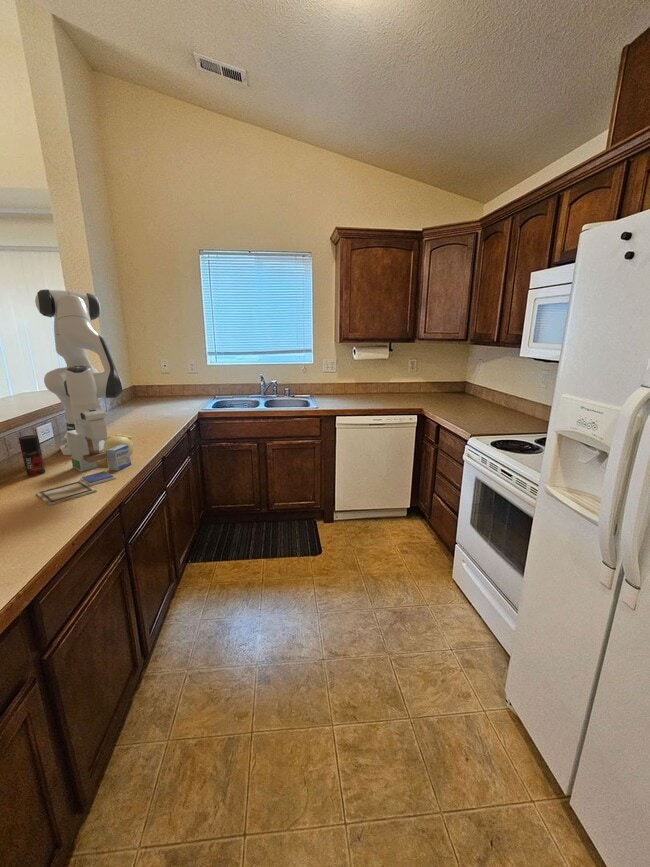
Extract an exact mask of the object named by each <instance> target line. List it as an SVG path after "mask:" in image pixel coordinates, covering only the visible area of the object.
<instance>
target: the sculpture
mask: <svg viewBox="0 0 650 867" xmlns="http://www.w3.org/2000/svg"><path fill="white" fill-rule="evenodd" d="M118 445H128V447H129V453H130V457H131V456H132V455H133V453H134V442H133V437H132V436H131V435H126V434H121V433H116V434H114V435H110V436H107V439H106V440H104V447H103V450H102V451H103V452H105V453H106V450H108V449H110V448H113V447H115V446H118Z"/></svg>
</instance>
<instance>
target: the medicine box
mask: <svg viewBox="0 0 650 867" xmlns="http://www.w3.org/2000/svg"><path fill="white" fill-rule="evenodd" d="M106 453H107V459H106V460H107V466H108V470H109V471H114V472H115V471H116V472H117V471H118V472H119V471H121V470H123V469H124V468H126V467H127V468H128V467H129V466H131V465H132V460H131V456H130V453H129V447H128V445H118V446H115V447H113V448H110V449H108V450H106Z"/></svg>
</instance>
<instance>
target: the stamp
mask: <svg viewBox="0 0 650 867" xmlns="http://www.w3.org/2000/svg"><path fill="white" fill-rule="evenodd" d="M85 440H87V443H88V449H89V453H87V454H83V458H84V460H86V461H87V462H89V463H91V462H95V461H97V462H99V461H103V460H107V453H105V452H104V451H103V450H101V451H99V449H98V450H94V449H93V448H92V445H93V443H92V440H91V439H90V438H88V437H85Z"/></svg>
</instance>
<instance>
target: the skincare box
mask: <svg viewBox="0 0 650 867" xmlns="http://www.w3.org/2000/svg"><path fill="white" fill-rule="evenodd" d="M66 433H67V435H68V441H69V447H70V453H71V455H70V458H71V466H72V468H73V469H76V470H77V471H80V472H86V471H89V470H93V469H96V468H98V461H95V462H91V463H89V462H87V461H86V460H84V458H83V454H87V453H89V449H88V446H87V442H86V440H85V438H84V436H83V435H80V434H78V433H77V432H76V430H72V431H67V430H66Z"/></svg>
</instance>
